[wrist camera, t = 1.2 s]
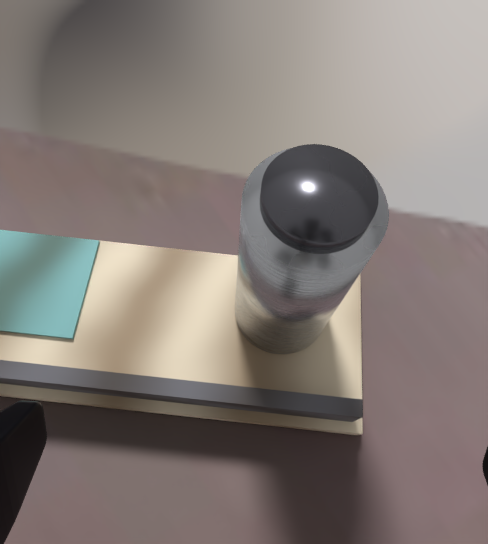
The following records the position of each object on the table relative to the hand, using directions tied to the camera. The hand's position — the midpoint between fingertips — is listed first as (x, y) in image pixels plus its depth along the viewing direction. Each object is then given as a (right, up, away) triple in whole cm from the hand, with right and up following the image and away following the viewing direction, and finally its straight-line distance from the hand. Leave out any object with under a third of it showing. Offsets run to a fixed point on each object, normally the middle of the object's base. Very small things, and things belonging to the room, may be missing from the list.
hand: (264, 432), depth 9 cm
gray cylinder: (+2, +1, +15) cm, 15 cm away
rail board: (-6, 0, +16) cm, 17 cm away
